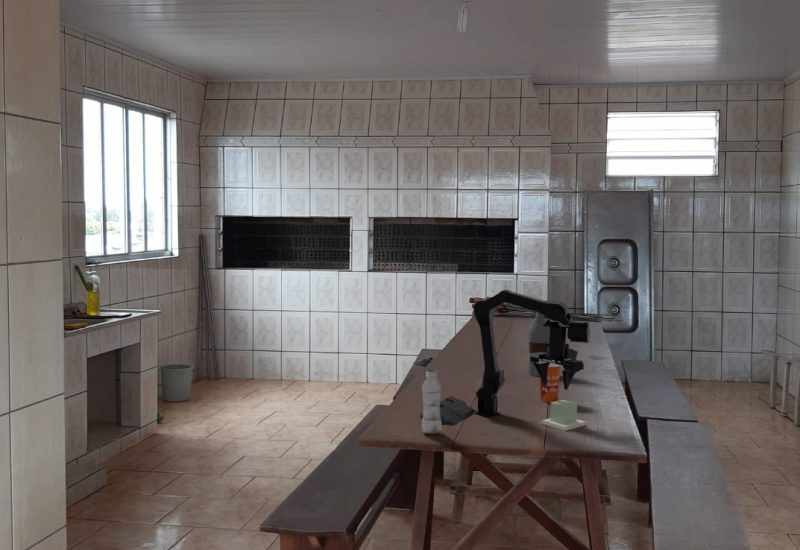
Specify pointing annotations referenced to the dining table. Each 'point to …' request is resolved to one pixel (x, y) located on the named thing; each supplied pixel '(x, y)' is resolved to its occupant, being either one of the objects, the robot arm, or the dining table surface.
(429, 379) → the plastic bottle
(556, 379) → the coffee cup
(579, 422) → the tile
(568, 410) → the cube
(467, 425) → the dining table surface
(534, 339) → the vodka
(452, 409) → the dark slate chunk
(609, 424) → the dining table surface
